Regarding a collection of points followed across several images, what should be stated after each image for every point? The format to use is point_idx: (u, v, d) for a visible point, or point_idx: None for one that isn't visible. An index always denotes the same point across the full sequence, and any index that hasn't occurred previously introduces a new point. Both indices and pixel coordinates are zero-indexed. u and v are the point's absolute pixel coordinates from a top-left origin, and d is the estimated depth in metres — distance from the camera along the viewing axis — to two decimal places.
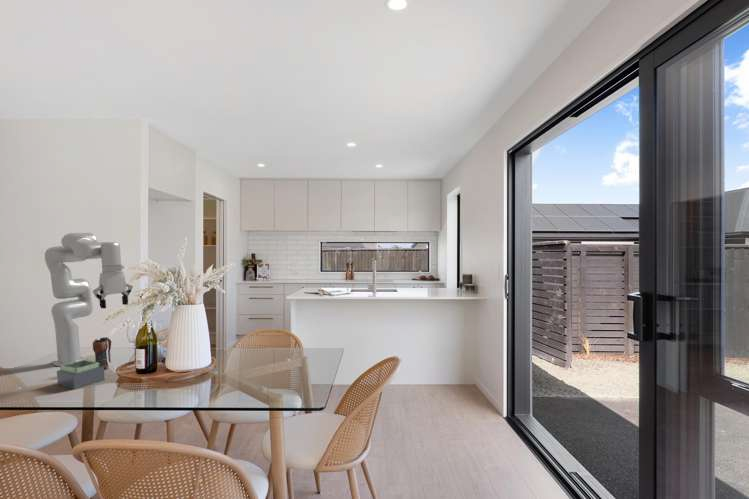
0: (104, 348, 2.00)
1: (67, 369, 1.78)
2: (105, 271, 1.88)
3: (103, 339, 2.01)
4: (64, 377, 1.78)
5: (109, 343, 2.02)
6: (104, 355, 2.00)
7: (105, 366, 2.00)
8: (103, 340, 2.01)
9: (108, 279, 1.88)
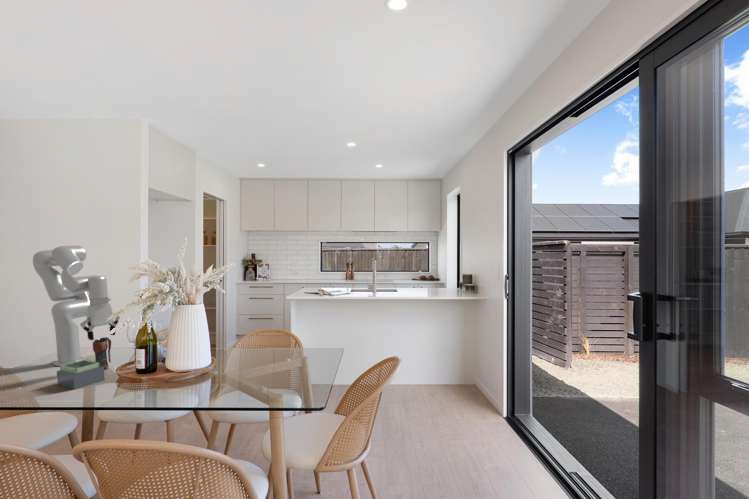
0: (104, 348, 2.00)
1: (67, 369, 1.78)
2: (92, 304, 1.97)
3: (103, 339, 2.01)
4: (64, 377, 1.78)
5: (109, 343, 2.02)
6: (104, 355, 2.00)
7: (105, 366, 2.00)
8: (103, 340, 2.01)
9: (95, 312, 1.97)
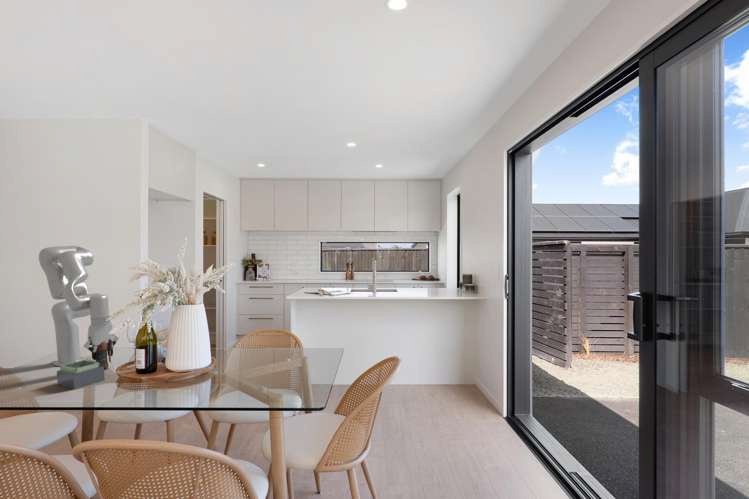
0: (105, 348, 2.00)
1: (67, 369, 1.78)
2: (93, 323, 1.97)
3: None
4: (64, 377, 1.78)
5: (110, 343, 2.02)
6: (105, 355, 2.01)
7: (105, 366, 2.00)
8: None
9: (96, 331, 1.97)
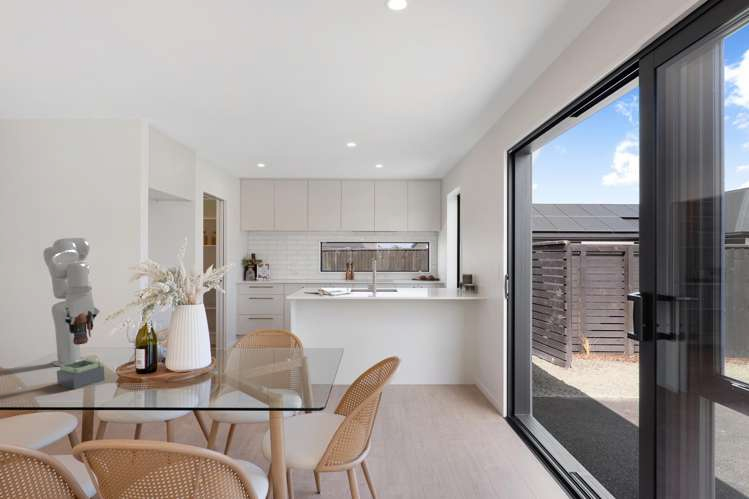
0: (84, 320, 1.84)
1: (67, 369, 1.78)
2: (71, 293, 1.81)
3: None
4: (64, 377, 1.78)
5: (90, 315, 1.86)
6: (84, 328, 1.84)
7: (84, 340, 1.84)
8: None
9: (74, 301, 1.81)
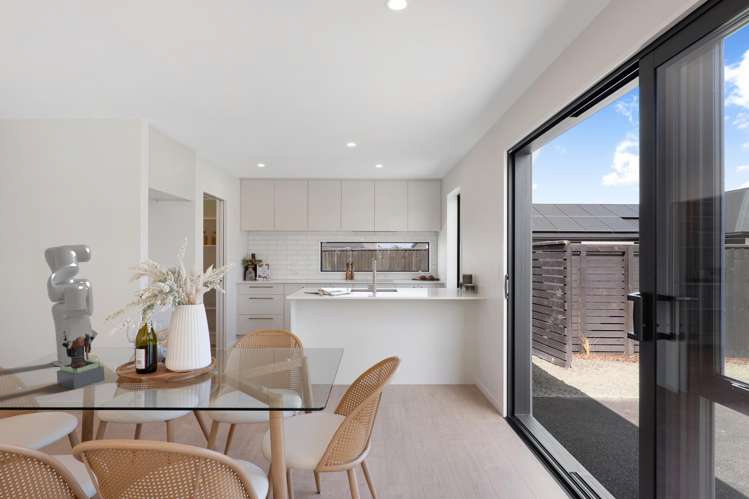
0: (81, 344, 1.81)
1: (67, 369, 1.78)
2: (68, 317, 1.78)
3: None
4: (64, 377, 1.78)
5: (87, 338, 1.83)
6: (81, 351, 1.82)
7: (82, 364, 1.82)
8: None
9: (71, 325, 1.78)
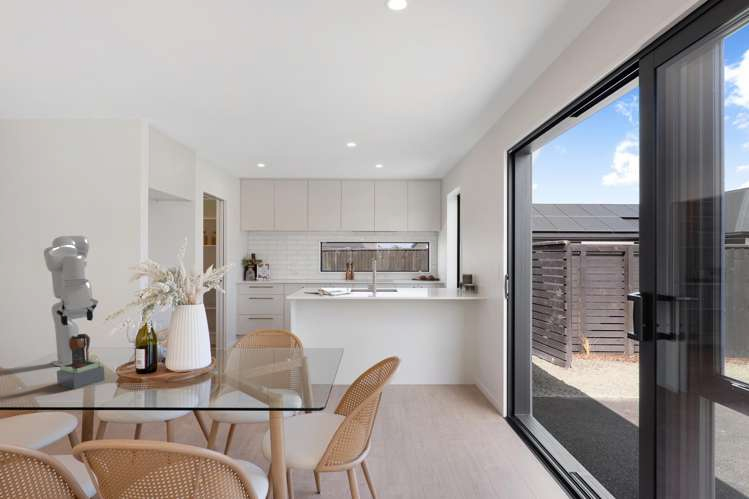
0: (81, 345, 1.81)
1: (67, 369, 1.78)
2: (67, 286, 1.78)
3: (80, 336, 1.82)
4: (64, 377, 1.78)
5: (87, 340, 1.83)
6: (81, 353, 1.82)
7: (82, 365, 1.82)
8: (80, 337, 1.82)
9: (70, 294, 1.78)
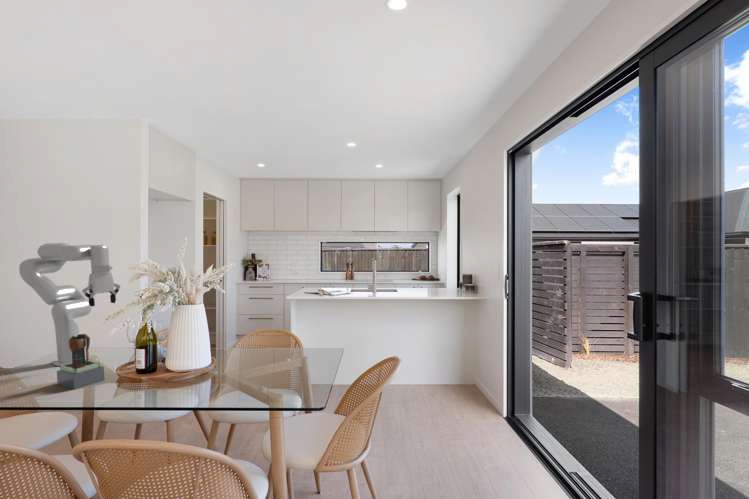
0: (81, 346, 1.81)
1: (67, 369, 1.78)
2: (94, 272, 2.03)
3: (80, 336, 1.82)
4: (64, 377, 1.78)
5: (87, 340, 1.83)
6: (81, 353, 1.82)
7: (82, 366, 1.81)
8: (80, 337, 1.82)
9: (97, 279, 2.03)
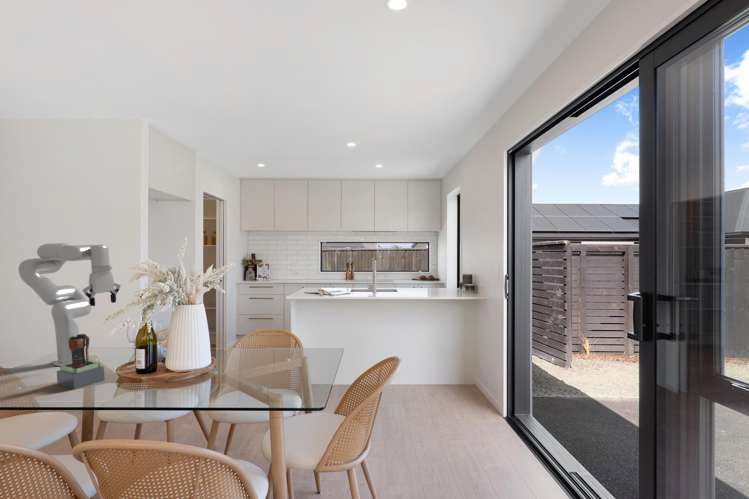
0: (81, 346, 1.81)
1: (67, 369, 1.78)
2: (94, 271, 2.03)
3: (80, 336, 1.82)
4: (64, 377, 1.78)
5: (86, 340, 1.83)
6: (81, 353, 1.82)
7: (82, 366, 1.81)
8: (80, 337, 1.82)
9: (97, 279, 2.03)
